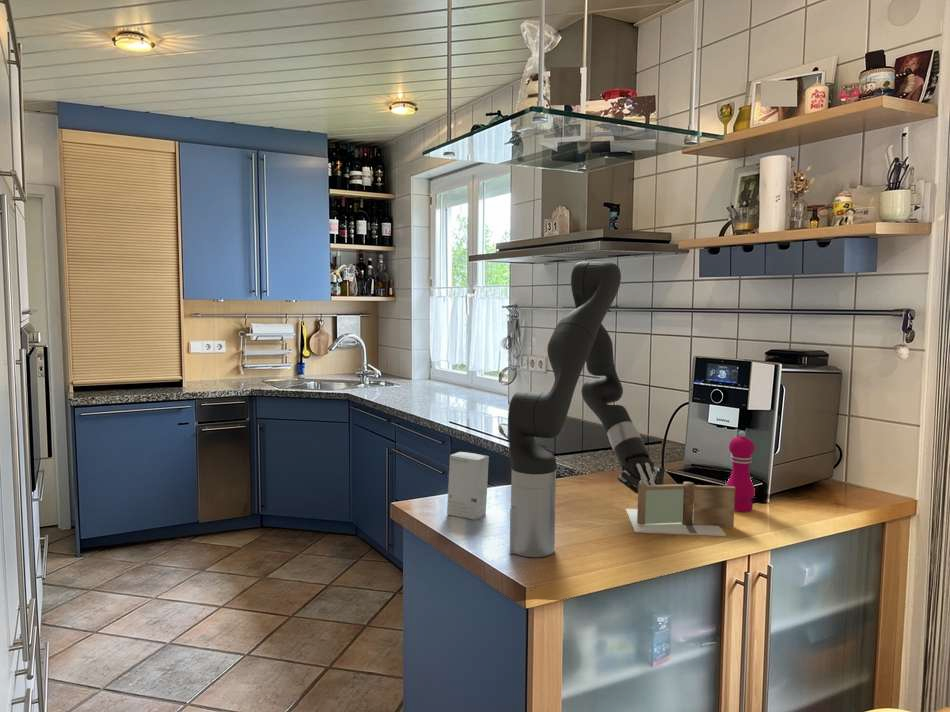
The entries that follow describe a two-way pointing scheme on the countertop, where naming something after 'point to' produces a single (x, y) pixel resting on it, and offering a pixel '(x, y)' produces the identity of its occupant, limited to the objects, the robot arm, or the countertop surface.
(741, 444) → the pepper mill
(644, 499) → the swing panel
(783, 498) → the countertop surface
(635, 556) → the countertop surface
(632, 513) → the card
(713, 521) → the fixed fence
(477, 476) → the skincare box
